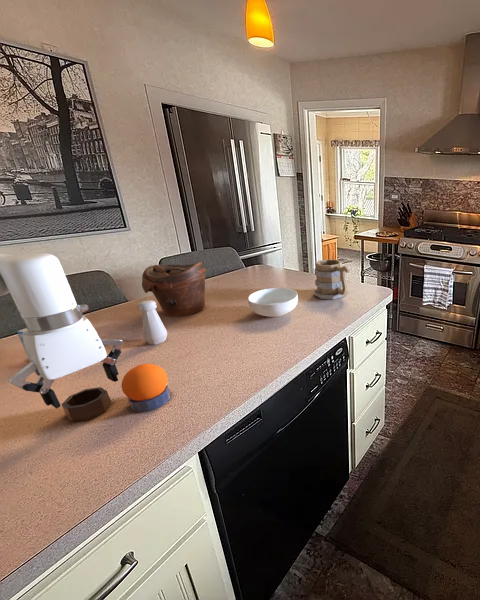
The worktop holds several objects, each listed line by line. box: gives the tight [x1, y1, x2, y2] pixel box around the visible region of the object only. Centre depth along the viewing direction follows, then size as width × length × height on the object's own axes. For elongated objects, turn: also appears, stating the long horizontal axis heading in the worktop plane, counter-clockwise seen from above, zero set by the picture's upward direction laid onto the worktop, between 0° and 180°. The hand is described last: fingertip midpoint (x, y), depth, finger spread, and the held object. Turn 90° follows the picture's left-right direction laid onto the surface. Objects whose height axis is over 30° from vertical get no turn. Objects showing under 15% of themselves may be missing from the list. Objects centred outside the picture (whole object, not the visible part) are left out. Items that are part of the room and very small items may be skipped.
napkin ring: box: [61, 386, 112, 423], centre depth 70 cm, size 7×7×4 cm
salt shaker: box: [137, 299, 168, 346], centre depth 96 cm, size 6×6×13 cm
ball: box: [121, 363, 169, 401], centre depth 72 cm, size 8×8×8 cm
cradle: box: [127, 384, 171, 413], centre depth 73 cm, size 7×7×2 cm
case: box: [141, 261, 207, 317], centre depth 117 cm, size 18×20×18 cm
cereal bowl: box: [247, 287, 299, 318], centre depth 119 cm, size 17×17×7 cm
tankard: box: [313, 259, 351, 300], centre depth 135 cm, size 20×13×15 cm, turn 42°
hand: (86, 391), depth 69 cm, fingers open, 9 cm apart
